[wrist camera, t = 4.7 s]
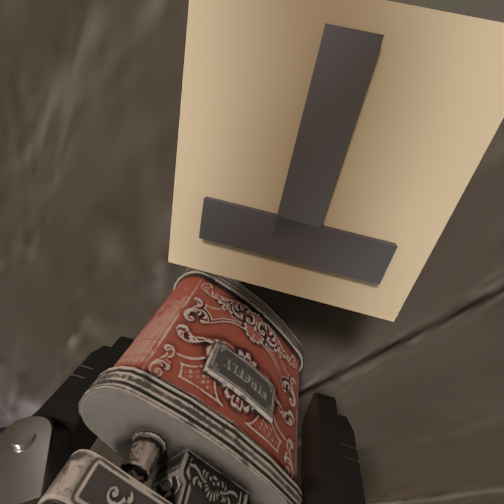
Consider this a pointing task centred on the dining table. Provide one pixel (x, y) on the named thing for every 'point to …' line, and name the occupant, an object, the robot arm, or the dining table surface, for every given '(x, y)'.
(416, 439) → the dining table surface
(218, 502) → the lighter
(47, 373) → the dining table surface
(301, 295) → the letter block
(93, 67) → the dining table surface
